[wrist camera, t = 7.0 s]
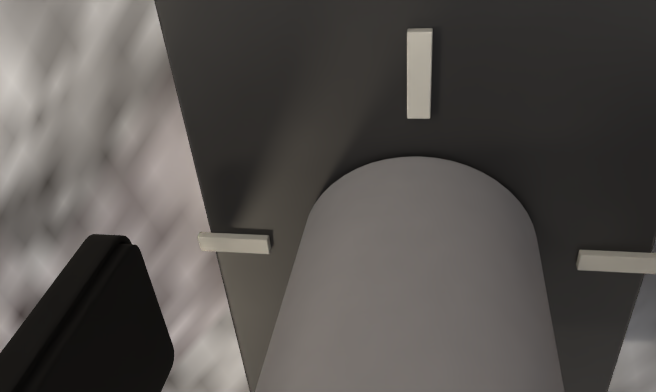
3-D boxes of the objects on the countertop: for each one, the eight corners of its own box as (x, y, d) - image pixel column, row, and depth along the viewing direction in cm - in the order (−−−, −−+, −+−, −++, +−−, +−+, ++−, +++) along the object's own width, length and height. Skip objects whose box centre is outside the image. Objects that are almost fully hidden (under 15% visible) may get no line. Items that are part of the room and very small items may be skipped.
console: (586, 341, 15) (608, 436, 13) (266, 318, 17) (240, 400, 15) (697, -84, 9) (769, -37, 7) (192, -62, 11) (130, -18, 9)
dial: (522, 336, 12) (561, 656, 8) (314, 320, 13) (247, 604, 8) (553, 157, 9) (636, 481, 5) (293, 150, 10) (184, 430, 6)
